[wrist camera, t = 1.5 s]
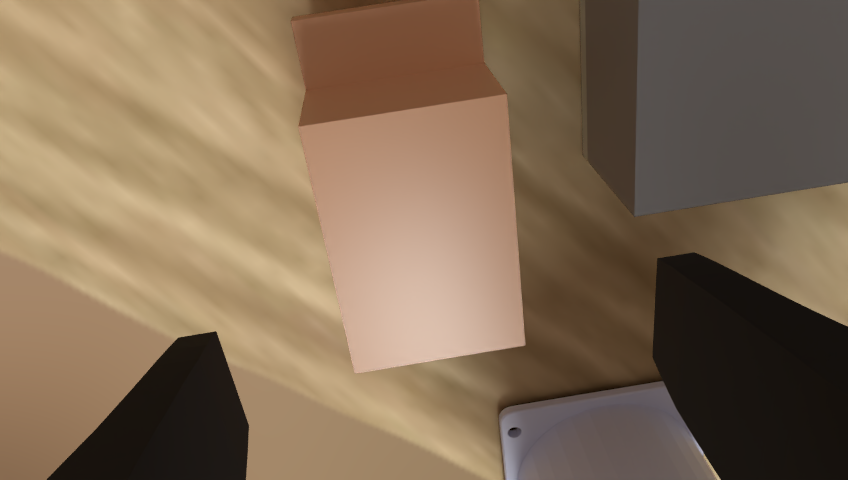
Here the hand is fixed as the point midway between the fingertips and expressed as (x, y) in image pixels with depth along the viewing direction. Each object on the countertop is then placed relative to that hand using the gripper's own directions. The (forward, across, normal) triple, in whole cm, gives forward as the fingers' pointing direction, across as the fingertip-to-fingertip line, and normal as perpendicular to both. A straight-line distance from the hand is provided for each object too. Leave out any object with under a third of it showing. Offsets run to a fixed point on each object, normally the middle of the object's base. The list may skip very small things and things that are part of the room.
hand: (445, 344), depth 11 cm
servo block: (+10, 0, 0) cm, 11 cm away
